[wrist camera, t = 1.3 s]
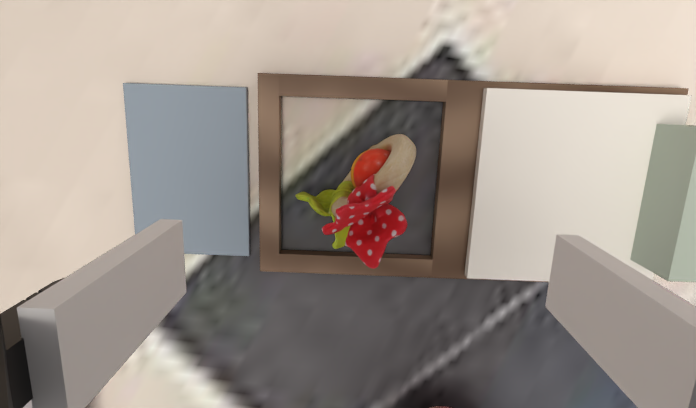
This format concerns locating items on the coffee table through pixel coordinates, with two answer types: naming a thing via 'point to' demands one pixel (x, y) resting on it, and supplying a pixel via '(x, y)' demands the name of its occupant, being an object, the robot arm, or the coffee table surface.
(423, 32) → the coffee table surface
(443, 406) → the decorative fruit
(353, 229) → the bird rattle
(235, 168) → the slate mat
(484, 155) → the sliding cover
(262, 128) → the puzzle board
